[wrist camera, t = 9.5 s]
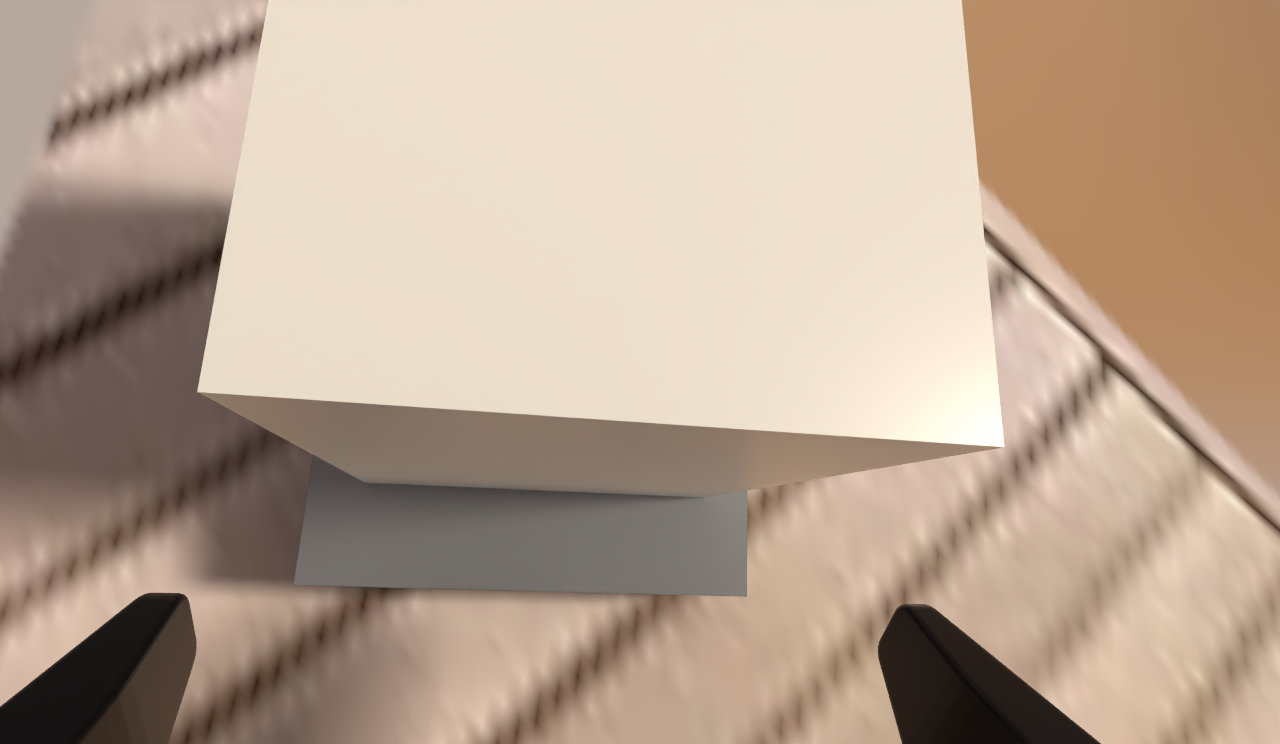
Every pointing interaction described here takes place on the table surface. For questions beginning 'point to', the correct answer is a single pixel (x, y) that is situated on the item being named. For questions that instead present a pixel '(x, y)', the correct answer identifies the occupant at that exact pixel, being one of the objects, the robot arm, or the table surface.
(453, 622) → the table surface
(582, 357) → the plug
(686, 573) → the socket
